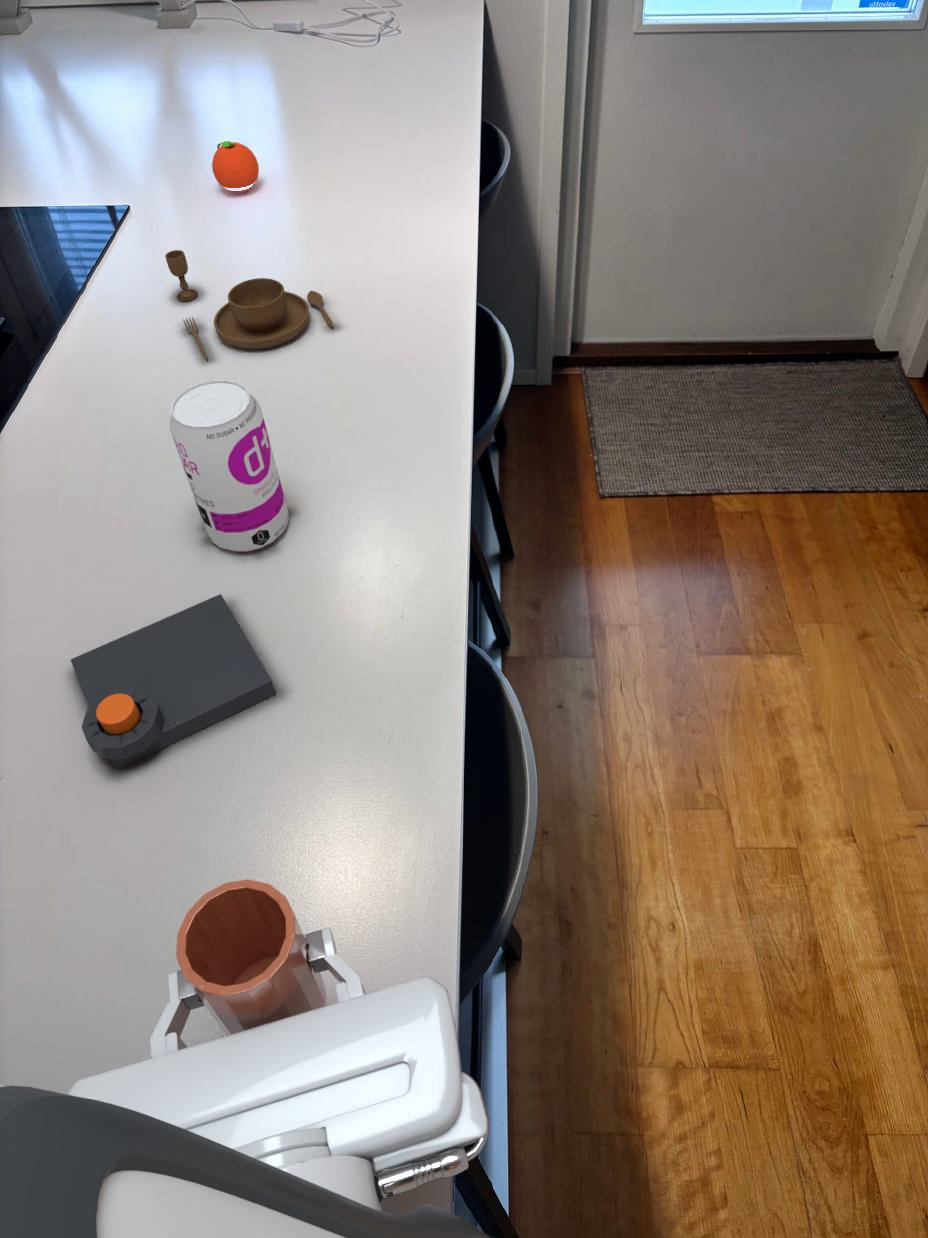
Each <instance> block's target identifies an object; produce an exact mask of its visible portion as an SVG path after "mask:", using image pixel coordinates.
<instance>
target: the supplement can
mask: <svg viewBox="0 0 928 1238" xmlns="http://www.w3.org/2000/svg"><path fill="white" fill-rule="evenodd" d="M168 428H169V431H170V434H171V438H172V439H173V443H174V446H175V448H176V451H177V453H178V457H179V460H180V462H181V465H182V468H183V471H184V473H185V476H186V479H187V481H188V484H189V488H190V490H191V493H192V495H193V499H194V501H195V504H196V506H197V509H198V512H199V515H200V517H201V520H202V524H203V526H204V530H205V532H206V534H207V536H208V538H209V540H210V541H211V542H212V543H213V544H215V545H216V546H217V547H219V548H221V549H225V550H228V551H233V552H237V553H238V552H239V553H240V552H243V553H244V552H252V551H255V550H260V549H262V548H264V547H266V546H268V545H270V544H272V543H273V542H274V541H276V539H278V537H280V536H281V534H283V533H284V531H285V530H286V528H287V525H288V523H289V522H290V521H289V520H290V519H289V509H288V506H287V501H286V497H285V494H284V489H283V486H282V482H281V479H280V474H279V471H278V467H277V463H276V460H275V456H274V451H273V449H272V444H271V441H270V437H269V434H268V430H267V426H266V421H265V418H264V414H263V411H262V407H261V404H260V403H259V402H258V400H257V399H256V397H254V396H253V395H252V394H251V393H250V392H249V390H248V389H247V387H246V386H244V385H242V384H241V383H239V382H237V381H232V380H227V379H215V380H214V379H213V380H208V381H204V382H199V383H197V384H195V385H192V386H190V387H188V388H186V389H185V390H184V391H182V392H181V393H179V394H178V395H177V396H176V397H175V399H174V400H173V402H172V404H171V414H170V418H169V426H168Z"/></svg>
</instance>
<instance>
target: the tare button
mask: <svg viewBox="0 0 928 1238" xmlns="http://www.w3.org/2000/svg"><path fill="white" fill-rule="evenodd" d="M96 716H97V719H98V720H99V722H100V724H101V725H102V727H103V729H104V730H105V731H106V732H108V733H110V734H114V735H119V734H123V733H126V732H128V731H130V730H131V729H133V728H134V727H135V726H136V724H137V723H138V721H139V718H140V712H139V710H138V708H137V706H136V704H135V702H134V700H133V699H132V698H131V697H130V696H129V695H126V694H120V693H119V694H114V695H111V696H108V697H107V698H105V699H104V700H103V701H102V702H101V703H100V704H99V705H98V707H97V710H96Z"/></svg>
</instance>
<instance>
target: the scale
mask: <svg viewBox="0 0 928 1238" xmlns="http://www.w3.org/2000/svg"><path fill="white" fill-rule="evenodd" d="M70 662H71V665H72V668H73V670H74V672H75V676H76V678H77V680H78V682H79V685H80V687H81V690H82V692H83V695H84V697H85V700H86V702H87V705H88V707H89V708H88V709H87V710H86V711H85V715H84V718H83V720H82V724H81V730H82V732H83V733H82V734H84V737H85V740H86V743H88V746H89V747H90V748H91V750H92V752H93V753H94V754H97V755H99V756H100V757H103V758H105V759H107V760H111V762H112V764H113V765H114V767H115V768H116V770H120V769H122V768H125V767H127V766H129V765H131V764H133V763H135V762H138V761H139V760H141V759H143V758H146V757H148V756H150V755H152V754H154V753H156V752H158V751H160V750H162V749H164V748H166V747H169V746H170V745H173V744H175V743H177V742H179V741H181V740H183V739H185V738H187V737H190V736H191V735H193V734H196V733H198V732H199V731H202V730H204V729H206V728H208V727H211V726H212V725H215V724H217V723H219V722H221V721H222V720H225V719H227V718H229V717H231V716H233V715H236V714H237V713H239V712H242V711H244V710H246V709H248V708H250V707H252V706H254V705H256V704H258V703H260V702H262V701H265V700H266V699H269V698H271V697H273V696H275V695H277V691H276V688H275V686H274V682H273V680H272V678H271V677H270V675H269V673H268V671H267V670H266V668H265V667H264V665H263V663H262V662H261V660H260V658H259V656H258V655H257V653H256V651H255V650H254V648H253V646H252V645H251V642H250V641H249V639H248V637H247V636H246V634H245V632H244V631H243V629H242V627H241V625H240V624H239V622H238V621H237V618H236V617H235V616H234V614H233V612H232V610H231V608H230V607H229V605H228V604H227V601H226V600H225V598H224V597H223V594H221V593H220V594H217V595H215V596H212V597H210V598H208V599H206V600H203V601H201V602H199V603H196V604H194V605H192V606H189V607H186V608H185V609H183V610H181V611H178V612H176V613H174V614H171V615H169V616H167V617H165V618H162V619H160V620H158V621H155V622H153V623H150V624H149V625H146V626H144V627H141V628H139V629H137V630H135V631H132V632H130V633H128V634H125V635H123V636H121V637H119V638H116V639H114V640H111V641H109V642H107V643H105V644H102V645H101V646H98V647H95V648H94V649H91V650H88V651H86V652H84V653H81V654H79V655H77V656H75V657H73V658H71V659H70ZM119 693H120V694H126V695H129V696H130V697H131V698H132V699H133V700H134V702H135V704H136V706H137V708H138V710H139V712H140V718H139V721H138V723H137V724H136V726H135V727H134V728H133V729H131V730H130V731H128V732H126V733H123V734H119V735H114V734H110V733H108V732H106V731H105V730H104V729H103V727H102V725H101V724H100V722H99V720H98V719H97V716H96V710H97V707H98V705H99V704H100V703H101V702H102V701H103V700H104V699H105V698H107V697H108V696H111V695H114V694H119Z"/></svg>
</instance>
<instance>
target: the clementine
mask: <svg viewBox="0 0 928 1238" xmlns="http://www.w3.org/2000/svg"><path fill="white" fill-rule="evenodd" d="M216 145H217V146H216V151H215V152H214V154H213V157H212V162H211V168H212V173H213V175H214V178H215V181H216V182H217V183H218V184H219V185H220V186H221V187H222V186H223V187H226V188H227V187H228V188H241V187H246V186H249V185H251V184H253V183H254V182H255V181H256V182H257V180H258V178H259V172H260V168H259V167H260V166H259V162H258V160H257V157H256V156H255V153H254V152H253V151H252V150H251V149H250V148H249V147H248V146H247V145H245V144H242V143H240V142H236V141H229V140H226V141H225V140H224V141H222V142H220V143H218V144H216ZM256 182H255V183H256ZM223 187H222V188H223ZM250 189H252V187H250V188H249V189H246V190H242V191H229V190H227V191H228V192H231V193H235V194H236V193H243V192H247V191H249V190H250Z"/></svg>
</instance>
